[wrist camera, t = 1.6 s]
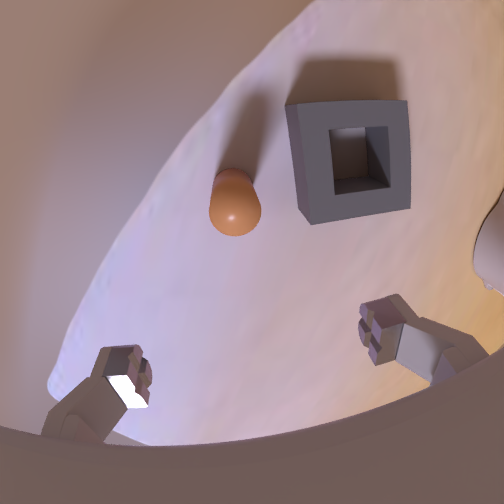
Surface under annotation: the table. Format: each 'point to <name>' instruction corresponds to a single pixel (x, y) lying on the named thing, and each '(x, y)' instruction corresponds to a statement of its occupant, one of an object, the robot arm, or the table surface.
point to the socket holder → (378, 151)
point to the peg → (234, 203)
